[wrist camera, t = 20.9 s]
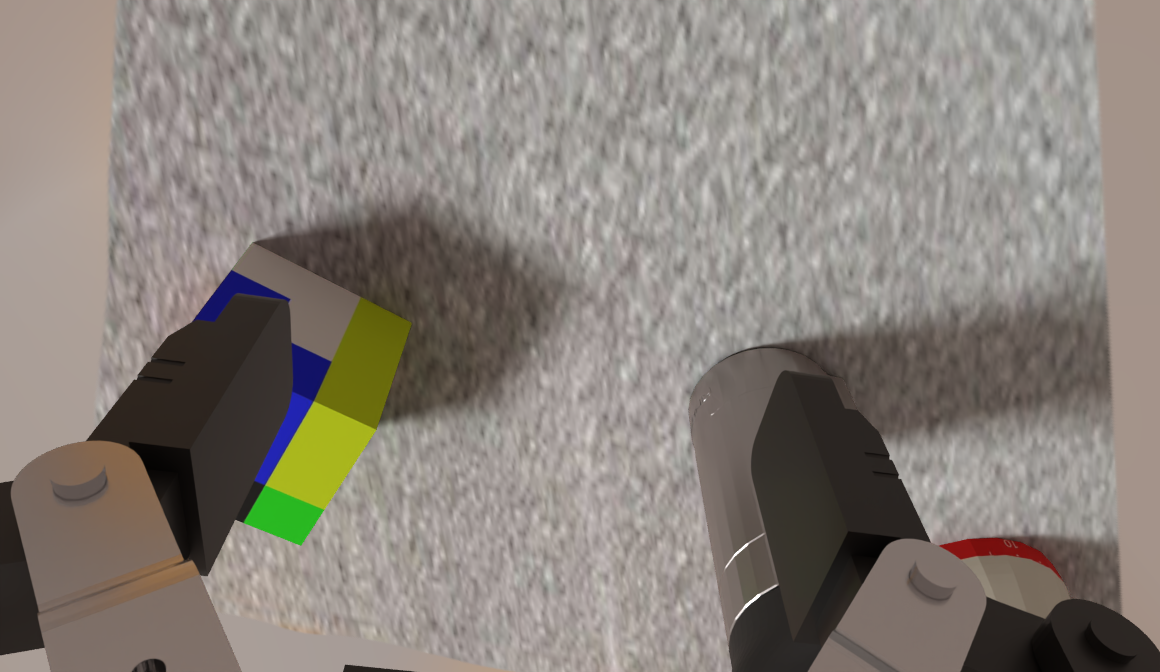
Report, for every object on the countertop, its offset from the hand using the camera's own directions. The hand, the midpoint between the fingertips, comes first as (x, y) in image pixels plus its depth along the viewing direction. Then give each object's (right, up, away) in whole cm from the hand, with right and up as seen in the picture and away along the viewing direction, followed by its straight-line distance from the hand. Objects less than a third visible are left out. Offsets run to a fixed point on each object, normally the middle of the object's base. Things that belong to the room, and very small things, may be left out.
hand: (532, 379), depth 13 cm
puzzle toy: (-16, 0, +36) cm, 40 cm away
